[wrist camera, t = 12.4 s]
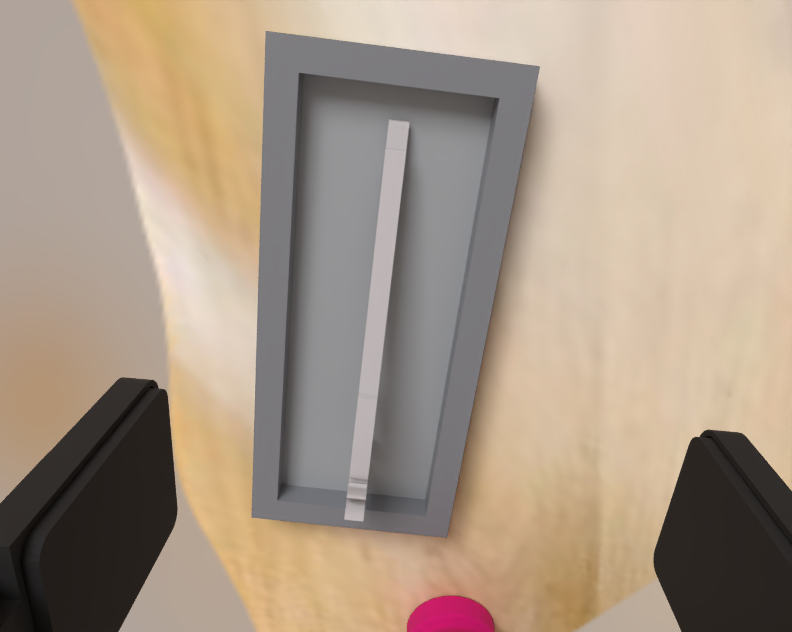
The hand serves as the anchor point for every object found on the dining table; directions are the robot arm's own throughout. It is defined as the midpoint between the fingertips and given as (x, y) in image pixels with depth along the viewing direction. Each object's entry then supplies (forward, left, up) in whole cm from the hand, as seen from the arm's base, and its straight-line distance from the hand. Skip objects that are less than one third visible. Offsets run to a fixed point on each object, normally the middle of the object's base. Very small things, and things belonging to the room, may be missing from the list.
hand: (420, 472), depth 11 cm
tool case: (+1, +7, -22) cm, 23 cm away
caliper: (+1, +6, -22) cm, 23 cm away
